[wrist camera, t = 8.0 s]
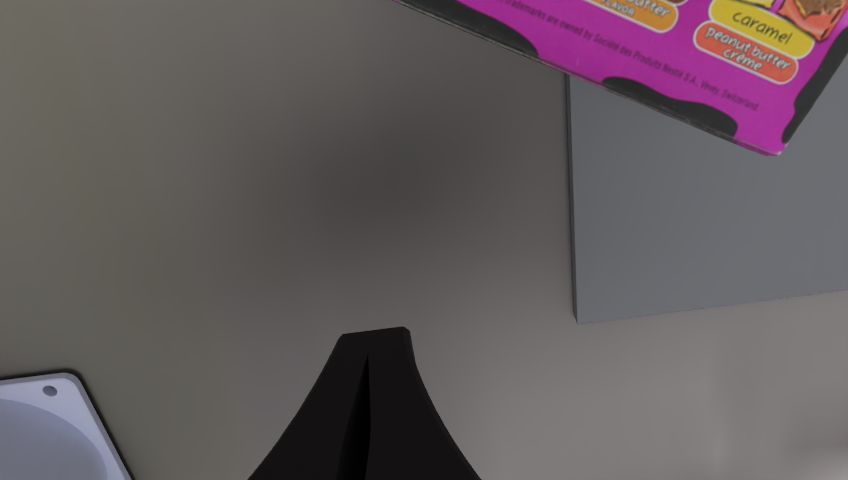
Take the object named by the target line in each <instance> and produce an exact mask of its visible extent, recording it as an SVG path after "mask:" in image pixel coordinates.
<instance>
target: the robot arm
mask: <svg viewBox="0 0 848 480" xmlns="http://www.w3.org/2000/svg"><path fill="white" fill-rule="evenodd" d="M50 386H52V387H55V389H53V388H51V387H50ZM0 480H131V478H130V476H129V474H128V472H127V470H126V468H125V467H124V465H123V463H122V461H121V459H120V457H119V455H118V453H117V451H116V449H115V447H114V445H113V444H112V442H111V440H110V438H109V436H108V434H107V432H106V430H105V428H104V426H103V424H102V422H101V421H100V419H99V417H98V415H97V413H96V411H95V409H94V407H93V405H92V403H91V401H90V399H89V397H88V396H87V394H86V392H85V390H84V388H83V386H82V384H81V382H80V381H79V379H78V378H77V377H76V376H74V375H72V374H69V373H56V374H48V375H40V376H33V377H25V378H17V379H9V380H1V381H0ZM248 480H481V479H480V477H479V476H478V475H477V473H476V472H475V471H474V469H473V468H472V466H471V465H470V464H469V462H468V461H467V460H466V458H465V457H464V455H463V454H462V452H461V451H460V449H459V448H458V446H457V445H456V443H455V442H454V440H453V439H452V437H451V435H450V434H449V432H448V430H447V429H446V427H445V425H444V423H443V422H442V420H441V418H440V416H439V414H438V413H437V411H436V409H435V407H434V405H433V403H432V401H431V399H430V397H429V395H428V393H427V390H426V388H425V386H424V384H423V381H422V379H421V377H420V374H419V372H418V369H417V366H416V363H415V357H414V352H413V346H412V341H411V335H410V331H409V330H408V329H406V328H405V327H395V328H387V329H379V330H371V331H363V332H355V333H347V334H342V336H341V337H340V338H339V339H338V341H337V343H336V345H335V347H334V349H333V351H332V353H331V355H330V357H329V359H328V361H327V363H326V365H325V366H324V368H323V370H322V372H321V374H320V375H319V377H318V379H317V381H316V383H315V384H314V386H313V388H312V389H311V391H310V393H309V394H308V396H307V398H306V399H305V401H304V403H303V404H302V406H301V408H300V409H299V411H298V412H297V414H296V415H295V417H294V418H293V420H292V421H291V423H290V424H289V425H288V427H287V428H286V430H285V431H284V433H283V434H282V436H281V437H280V439H279V440H278V442H277V443H276V444H275V446H274V447H273V448H272V450H271V451H270V452H269V454H268V455H267V456H266V458H265V459H264V460H263V461H262V463H261V464H260V465H259V466H258V468H257V469H256V470H255V471H254V473H253V474H252V475H251V476H250V477H249V479H248Z"/></svg>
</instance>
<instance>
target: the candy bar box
mask: <svg viewBox="0 0 848 480" xmlns="http://www.w3.org/2000/svg"><path fill="white" fill-rule="evenodd" d="M393 1H395V2H397V3H400V4H402V5H404V6H407V7H409V8H411V9H414V10H416V11H418V12H421V13H423V14H425V15H428V16H430V17H432V18H435V19H437V20H440V21H442V22H444V23H447V24H449V25H451V26H454V27H456V28H458V29H461V30H463V31H466V32H468V33H470V34H473V35H475V36H478V37H480V38H482V39H485V40H487V41H490V42H492V43H495V44H497V45H499V46H501V47H504V48H506V49H508V50H511V51H513V52H516V53H518V54H520V55H523V56H525V57H528V58H530V59H532V60H535V61H537V62H540V63H542V64H544V65H547V66H549V67H552V68H554V69H556V70H559V71H561V72H564V73H566V74H568V75H571V76H573V77H575V78H578V79H580V80H583V81H585V82H587V83H590V84H592V85H594V86H597V87H599V88H602V89H604V90H606V91H609V92H611V93H613V94H616V95H618V96H621V97H623V98H626V99H628V100H631V101H634V102H636V103H638V104H641V105H643V106H645V107H648V108H650V109H652V110H655V111H657V112H659V113H662V114H664V115H666V116H669V117H671V118H674V119H676V120H679V121H681V122H684V123H686V124H689V125H691V126H693V127H696V128H698V129H700V130H703V131H705V132H707V133H709V134H712V135H714V136H717V137H719V138H722V139H724V140H727V141H729V142H731V143H734V144H736V145H739V146H741V147H743V148H746V149H748V150H751V151H754V152H756V153H759V154H762V155H764V156H779V155H780V154H781V153H782V152H783V150H784V149H785V148H786V146H787V145H788V143H789V141H790V140H791V138H792V136H793V134H794V133H795V131H796V130H797V128H798V126H799V125H800V124H801V122H802V121H803V120H804V118H805V117H806V115H807V114H808V113H809V111H810V110H811V109H812V107H813V105H814V104H815V102H816V100H817V99H818V97H819V96H820V95H821V93H822V92H823V90H824V89H825V87H826V86H827V84H828V83H829V81H830V80H831V78H832V77H833V75H834V74H835V72H836V71H837V69H838V68H839V66H840V65H841V63H842V62H843V60H844V59H845V57H846V56H847V54H848V0H393Z"/></svg>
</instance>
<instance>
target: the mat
mask: <svg viewBox="0 0 848 480" xmlns="http://www.w3.org/2000/svg"><path fill="white" fill-rule="evenodd" d="M566 97H567V126H568V156H569V185H570V215H571V245H572V274H573V304H574V316H575V319H576V321H577V324H584V323H592V322H600V321H608V320H616V319H624V318H632V317H640V316H648V315H656V314H663V313H671V312H679V311H687V310H695V309H703V308H711V307H719V306H727V305H735V304H743V303H750V302H758V301H766V300H774V299H782V298H790V297H798V296H806V295H814V294H822V293H830V292H837V291H845V290H848V54H847V56H846V57H845V59H844V60H843V62H842V63H841V65H840V66H839V68H838V69H837V71H836V72H835V74H834V75H833V77H832V78H831V80H830V81H829V83H828V84H827V86H826V87H825V89H824V90H823V92H822V93H821V95H820V96H819V97H818V99H817V100H816V102H815V104H814V105H813V107H812V109H811V110H810V111H809V113H808V114H807V115H806V117H805V118H804V120H803V121H802V122H801V124H800V125H799V126H798V128H797V130H796V131H795V133H794V134H793V136H792V138H791V140H790V141H789V143H788V145H787V146H786V148H785V149H784V150H783V152H782V153H781V154H780V155H779V156H764V155H762V154H759V153H756V152H754V151H751V150H748V149H746V148H743V147H741V146H739V145H736V144H734V143H731V142H729V141H727V140H724V139H722V138H719V137H717V136H714V135H712V134H709V133H707V132H705V131H703V130H700V129H698V128H696V127H693V126H691V125H689V124H686V123H684V122H681V121H679V120H676V119H674V118H671V117H669V116H666V115H664V114H662V113H659V112H657V111H655V110H652V109H650V108H648V107H645V106H643V105H641V104H638V103H636V102H634V101H631V100H628V99H626V98H623V97H621V96H618V95H616V94H613V93H611V92H609V91H606V90H604V89H602V88H599V87H597V86H594V85H592V84H590V83H587V82H585V81H583V80H580V79H578V78H575V77H573V76H571V75H568V74H566Z"/></svg>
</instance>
